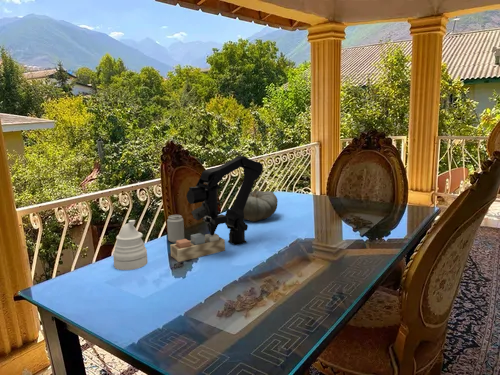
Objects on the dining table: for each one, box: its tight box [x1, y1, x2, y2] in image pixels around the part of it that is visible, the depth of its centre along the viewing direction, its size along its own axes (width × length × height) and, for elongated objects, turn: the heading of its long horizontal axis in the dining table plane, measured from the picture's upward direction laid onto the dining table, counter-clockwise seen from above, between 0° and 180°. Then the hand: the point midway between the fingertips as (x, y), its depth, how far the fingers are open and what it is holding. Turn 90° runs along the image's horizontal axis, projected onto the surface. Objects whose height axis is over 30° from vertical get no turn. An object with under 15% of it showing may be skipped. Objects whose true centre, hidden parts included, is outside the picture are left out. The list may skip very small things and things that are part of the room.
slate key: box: [190, 232, 205, 245], centre depth 161 cm, size 4×4×5 cm
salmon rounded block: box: [175, 238, 190, 249], centre depth 158 cm, size 4×4×5 cm
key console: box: [169, 236, 226, 263], centre depth 162 cm, size 22×8×5 cm, turn 124°
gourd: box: [233, 188, 279, 222], centre depth 213 cm, size 25×25×17 cm
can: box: [166, 214, 185, 244], centre depth 178 cm, size 8×8×12 cm
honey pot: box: [112, 219, 149, 271], centre depth 151 cm, size 13×13×18 cm
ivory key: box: [204, 232, 220, 242], centre depth 165 cm, size 4×4×5 cm
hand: (212, 235), depth 165 cm, fingers closed, pressing on ivory key
